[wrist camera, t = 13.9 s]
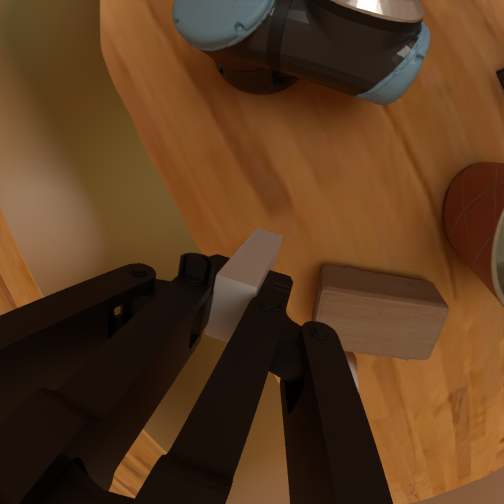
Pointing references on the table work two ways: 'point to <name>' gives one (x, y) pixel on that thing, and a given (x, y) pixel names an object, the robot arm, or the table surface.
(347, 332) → the wooden block
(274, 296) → the robot arm
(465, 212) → the planter
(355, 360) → the white rounded cylinder
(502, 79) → the small box
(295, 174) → the table surface
